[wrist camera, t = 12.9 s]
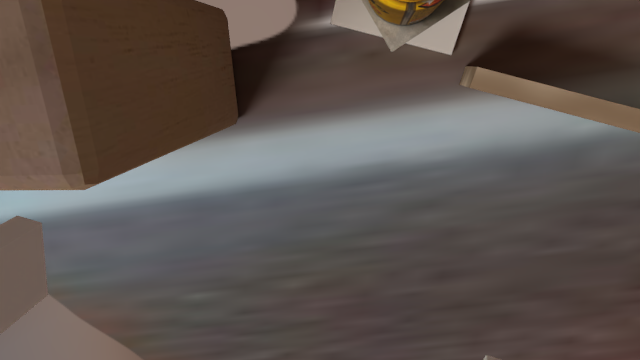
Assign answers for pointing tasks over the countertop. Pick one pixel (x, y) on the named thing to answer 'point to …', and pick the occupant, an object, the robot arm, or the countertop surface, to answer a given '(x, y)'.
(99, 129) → the block
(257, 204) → the countertop surface
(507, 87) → the open wooden frame
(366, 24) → the trivet
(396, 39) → the condiment
